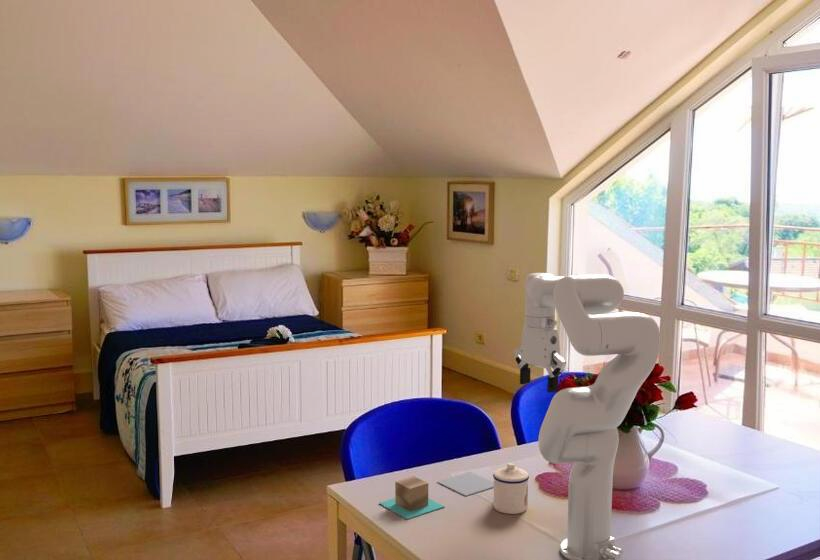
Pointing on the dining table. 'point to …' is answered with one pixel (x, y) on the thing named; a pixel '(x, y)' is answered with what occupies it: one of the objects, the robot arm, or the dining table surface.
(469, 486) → the grey mat
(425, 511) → the teal mat
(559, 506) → the dining table surface
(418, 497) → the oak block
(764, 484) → the dining table surface
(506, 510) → the teacup with lid
